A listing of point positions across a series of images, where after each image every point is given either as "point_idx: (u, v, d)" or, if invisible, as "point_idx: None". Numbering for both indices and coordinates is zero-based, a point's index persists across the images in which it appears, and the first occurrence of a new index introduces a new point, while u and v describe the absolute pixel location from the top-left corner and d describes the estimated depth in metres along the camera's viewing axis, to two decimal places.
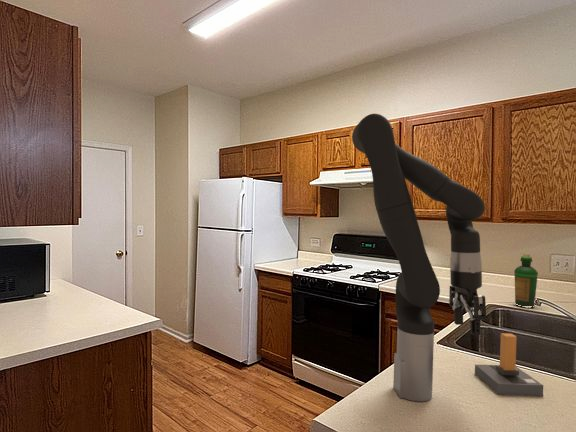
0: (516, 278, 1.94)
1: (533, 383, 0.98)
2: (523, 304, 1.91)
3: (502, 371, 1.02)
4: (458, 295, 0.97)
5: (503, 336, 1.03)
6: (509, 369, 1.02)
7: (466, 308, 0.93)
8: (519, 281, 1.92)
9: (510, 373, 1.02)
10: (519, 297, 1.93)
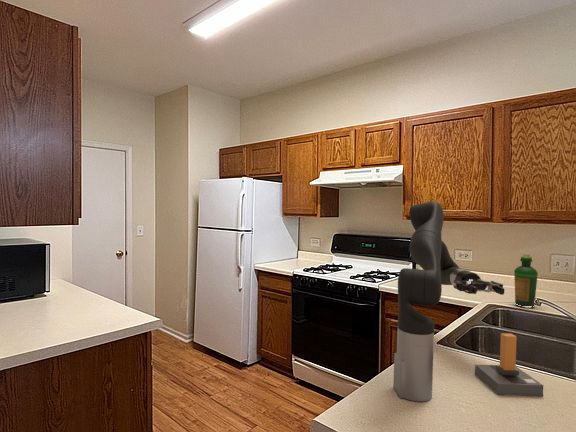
0: (516, 278, 1.94)
1: (533, 383, 0.98)
2: (523, 304, 1.91)
3: (502, 371, 1.02)
4: None
5: (503, 336, 1.03)
6: (509, 369, 1.02)
7: (488, 281, 1.21)
8: (519, 281, 1.92)
9: (510, 373, 1.02)
10: (519, 297, 1.93)
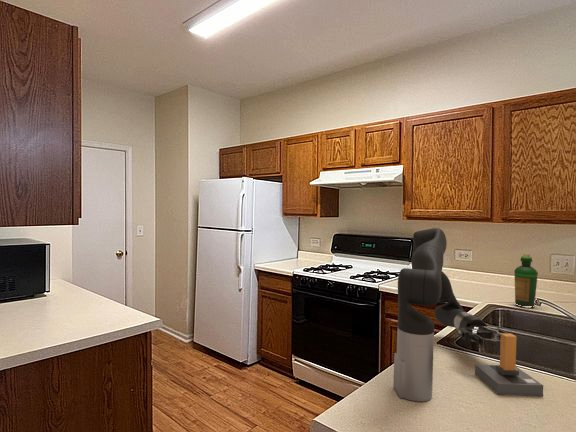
0: (516, 278, 1.94)
1: (533, 383, 0.98)
2: (523, 304, 1.91)
3: (502, 371, 1.02)
4: None
5: (503, 336, 1.03)
6: (509, 369, 1.02)
7: (495, 330, 1.16)
8: (519, 281, 1.92)
9: (510, 373, 1.02)
10: (519, 297, 1.93)
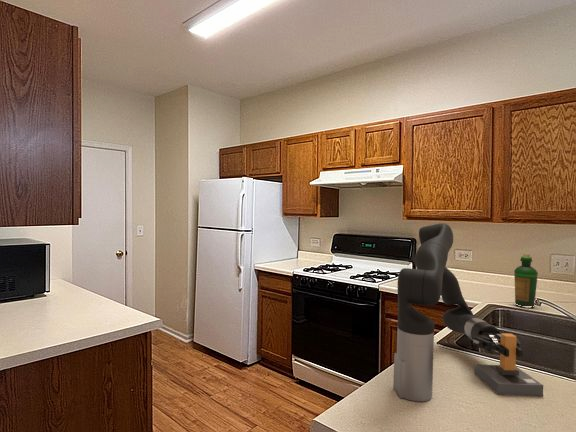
0: (516, 278, 1.94)
1: (533, 383, 0.98)
2: (523, 304, 1.91)
3: (502, 371, 1.02)
4: None
5: (503, 336, 1.03)
6: (509, 369, 1.02)
7: None
8: (519, 281, 1.92)
9: (510, 373, 1.02)
10: (519, 297, 1.93)
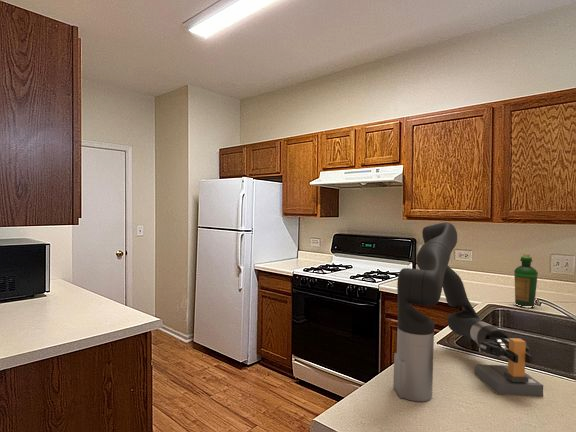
0: (516, 278, 1.94)
1: (533, 383, 0.98)
2: (523, 304, 1.91)
3: (511, 378, 0.98)
4: None
5: (512, 341, 0.99)
6: (518, 375, 0.98)
7: None
8: (519, 281, 1.92)
9: (519, 380, 0.98)
10: (519, 297, 1.93)
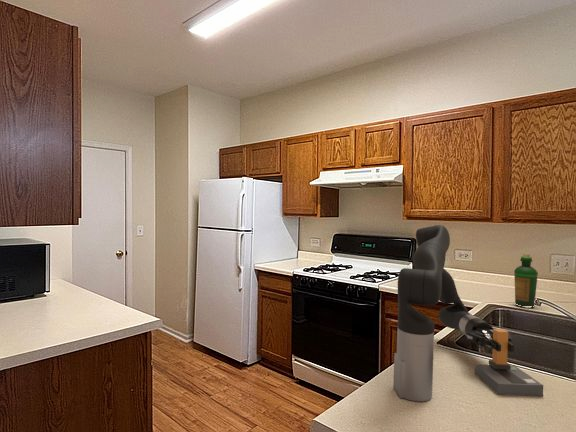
0: (516, 278, 1.94)
1: (533, 383, 0.98)
2: (523, 304, 1.91)
3: (494, 365, 1.06)
4: None
5: (495, 331, 1.07)
6: (501, 363, 1.06)
7: None
8: (519, 281, 1.92)
9: (502, 367, 1.06)
10: (519, 297, 1.93)
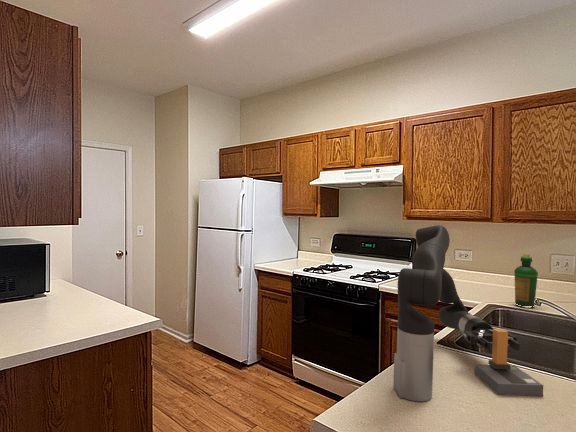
0: (516, 278, 1.94)
1: (533, 383, 0.98)
2: (523, 304, 1.91)
3: (494, 365, 1.06)
4: None
5: (495, 331, 1.07)
6: (501, 363, 1.06)
7: None
8: (519, 281, 1.92)
9: (502, 367, 1.06)
10: (519, 297, 1.93)
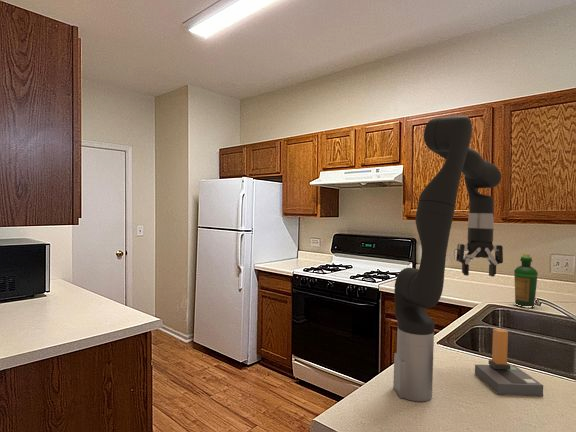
0: (516, 278, 1.94)
1: (533, 383, 0.98)
2: (523, 304, 1.91)
3: (494, 365, 1.06)
4: None
5: (495, 331, 1.07)
6: (501, 363, 1.06)
7: (492, 257, 1.19)
8: (519, 281, 1.92)
9: (502, 367, 1.06)
10: (519, 297, 1.93)
